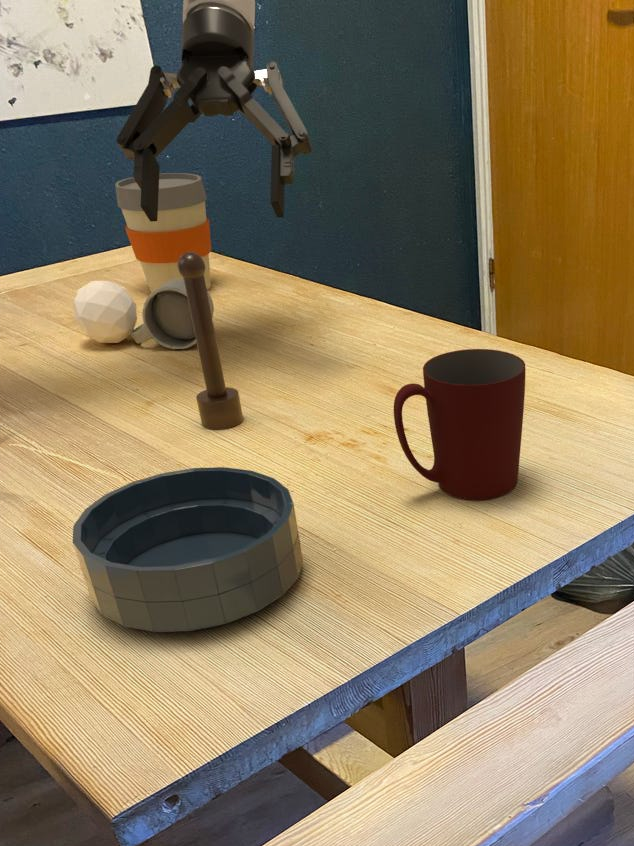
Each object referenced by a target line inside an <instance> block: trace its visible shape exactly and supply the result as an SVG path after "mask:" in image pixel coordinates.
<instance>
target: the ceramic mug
mask: <svg viewBox="0 0 634 846" xmlns="http://www.w3.org/2000/svg"><path fill="white" fill-rule="evenodd" d="M207 294H208V299H209V304H210V309H211V314H212V319H213V318H214V313H215V307H214V301H213V299H212V296H211V294H210V293H209V291H208V290H207ZM141 316H142V322H143V323H141V324H140V325H139V326H137V327H136V328H134V330H133V331H132V332H131V335H130V336H131V337H132V339H133V340H134V342H135V343H136V344H138V345H139V344H142V343H145V342H146V341H148V340H150V339H152V340H154V341H155V342H156V343H158V345H160V346H162V347H164V348H167V349H170V350H175V349H182V350H187V349H189V348H192V347H193V346H195V345H197V342H196V337H195V333H194V328H193V323H192V318H191V313H190V308H189V304H188V299H187V294H186V289H185V284H184V280H183V278H177V279H172V280H170V281H168V282H167V283H165V284H164V285H163V286H161V287H160V288H158V289H157V290H155V291H154V292H152V293H151V292H150V294H149V295H148V296H147V298H146V299H145V302H144V304H143V307H142V315H141Z"/></svg>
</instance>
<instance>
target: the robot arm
mask: <svg viewBox="0 0 634 846" xmlns="http://www.w3.org/2000/svg"><path fill="white" fill-rule="evenodd" d="M182 3H183V7H182V28H181V30H182V31H181V32H182V33H181V64H180V67H179V69H178V70H177V72H167V71H163V69H162V67H161V66H159V65H157V64H156V65H153V66H152V67H151V68H150V72H149V77H148V81H147V82H148V83H147V85H146V87H145V89H144V90H143V92H142V94H141V96H140V97H139V99H138V100H137V102H136V104H135V105H134V108H133V109H132V111H131V113H130V114H129V115H128V118H127V119H126V121H125V123H124V125H123V126H122V127H121V130H120V131H119V133H118V135H117V136H116V143H117V145H118V146H119V149H121V151H122V152H123V155H124V156H125V157H126V159H128V160H131V161H132V160H133V177H134V179H135V181H136V183H137V184H138V186H139V188H140V189H141V208H142V209H143V211H144V212H145V214H146V216H147V217H148V219H149V220H150V222H152V221H157V217H158V193H159V174H160V169H161V168H160V166H161V165H160V164H159V162H158V160H157V157H158V156H159V155H161V153H162V152H163V151H164V150H165V149H166V148H167V147H168V146H169V145H170V144H171V142H173V140H174V139H176V137H178V135H179V134H180V133H181V132H182V131H183V130H184V129H185V128H186V126H187V125H189V123H191V124H193V123H195V122H196V121H197V120H198V119H199V117H200V116H202V115H203V116H204V117H214V116H218V115H221V116H226V117H227V116H228V117H229V116H234V114H235V113H237V112H238V111H239V112H240V113H241V114H242V115H243V117H244V118H246V120H247V121H248V122H251V123H252V124H253V125H254V127H256V129H257V130H258V131H259V132H260V133H261V134H262V135H263V136H264V137H265V138H266V139H267V141H268V142H270V143H271V160H270V161H271V163H270V165H271V166H270V205H271V207H272V209H273V212H274V214H275V217H276V218H285V185H293V184H294V181H295V159H296V156H298V155H299V154H305V155H308V154H311V152H312V151H313V147H312V142H311V140H310V136H309V133H308V131H307V128H306V127H305V125H304V123H303V121H302V119H301V117H300V116H299V114H298V112H297V110H296V108H295V106H294V104H293V102H292V101H291V99H290V97H289V94H288V93H287V92H286V90H285V87H284V82H283V78H282V75H281V71H280V69H279V66H278V63H277V62H276V61H269V62H267V63H266V68H264V69H257V70H254V69H255V67H254V66H255V63H254V62H255V22H256V21H255V20H256V0H183V2H182ZM258 86H261V87H263V90H264V91H265V92H266V93H268V95H270V96H271V95H272V97H273V101H274V103H275V105H276V107H277V109H278V110H279V112H280V114H281V116H282V118H283V119H284V121H285V123H286V125H287V127H288V129H289V131H290V132H291V135H290V133H289V131H285V130H284V129H283V128H282V127H281V126H280V125H279V123H278V122H276V120H274V118H273V117H271V115H270V114H269V113H268V112H267V111H266V110H265V109H264V108H263V107H262V106H261V104H260V103H259V102H258V101H257V100H256V99H255V98H254V97H253V94H254V92H255V91H256V90H257V88H258ZM176 89H177V90H176ZM175 90H176V91H175ZM174 91H175V92H174ZM173 92H174V94H173ZM172 97H173V99H172V101H171V102H170V103H168V105H167V102H168V99H171V98H172ZM189 102H190V103H191V105H190V104H189ZM166 105H167V106H166Z"/></svg>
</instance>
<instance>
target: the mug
mask: <svg viewBox="0 0 634 846" xmlns="http://www.w3.org/2000/svg"><path fill="white" fill-rule="evenodd" d="M422 376H423V385H421V384H418V383H408V384H407V383H406V384H405V385H403V386H401V388H399V390H397V392H396V394H395V397H394V400H393V420H394V421H393V422H394V425H395V426H394V427H395V430H396V431H395V432H396V435H397V438H398V442H399V444H400V446H401V449H402V451H403V453H404V455H405V457H406V459H407V461H408V462H409V464H410V465H411V466H412V467H413V468H414V470H416V472H418V474H419V475H421V476H422V477H424V478H425V479H426V480H428V481H430V482H433V483H437V484H438V486H439V489H440V490H441V491H442V492H444V493H446V494H447V495H449V496H451V497H454V498H458V499H463V500H473V501H475V500H476V501H477V500H478V501H479V500H489V499H494V498H498V497H501V496H504V495H506V494H508V493H510V492H511V491H512V490H514V489H515V488H516V486H517V485H518V480H519V471H520V460H521V459H520V458H521V448H522V447H521V446H522V434H523V423H524V409H525V397H526V362H525V361H524V359H522V358H521V357H520V356H518V355H516V354H513V353H511V352H507V351H503V350H498V349H488V348H469V349H458V350H454V351H448V352H445V353H441V354H438V355H436V356H433V357H432V358H430V359H428V360H427V361H426V362H425V363H424V364H423V366H422ZM414 396H421V397H423V398H424V399H425V404H426V410H427V417H428V418H427V420H428V424H429V431H430V439H431V445H432V452H433V465H432V467H431V468H430V469H427V468H425V467H424V466H422V464H420V463H419V461H418V460H417V459H416V457H415V456H414V453H413V452H412V450H411V447H410V445H409V442H408V439H407V435H406V433H405V427H404V421H403V407H404V404H405V403H406V401H407V400H408V399H409V398H411V397H414Z"/></svg>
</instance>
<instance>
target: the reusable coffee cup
mask: <svg viewBox="0 0 634 846" xmlns="http://www.w3.org/2000/svg"><path fill="white" fill-rule="evenodd" d="M114 186H115V187H114V188H115V194H116V201H117V207H118V208H119V209H121V212H122V214H123V217H124V220H125V223H126V225H124V229H125V233H126V234H127V237H128V241H129V243H130V246H131V248H132V251H133V254H134V257H135V259H136V260H137V261H138V262H140V264H141V268H142V271H143V273H144V277H145V280H146V283H147V285H148V287H149V290H150V294H151V293H152V292H154V291H155V290H157V289H158V288H160V287H161V286H163V285H164V284H165V283H167V282H168V281H170V280H172V279H177V278H183V276H182V275H181V274H180V272H179V270H178V260H179V258H180V256H181V255H182V254H184V253H186V252H193V253H196V254H198V255H199V256H200V257H201V258H202V259H203V261H204V263H205V273H204V279H205V284H206V289H207V291H208V290H210V289H211V286H212V285H211V268H210V255H209V254H210V253H211V252H212V245H211V244H212V241H211V226H210V225H211V224H210V219H209V217H207V212H206V211H207V210H206V208H207V207H206V201H207V199H208V197H207V193H206V189H205V186H204V183H203V179H202V177H201V176H200V175H198V174H194V173H186V172H185V173H184V172H167V173H166V172H165V173H159V193H158V217H157V221H152V222H150V220H149V219H148V217H147V216H146V214H145V212H144V211H143V209H142V208H141V189H140V188H139V186H138V184H137V183H136V181H135V179H134V176H132V177H128V178H124V179H120V180H118V181H116V182H115V183H114Z"/></svg>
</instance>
